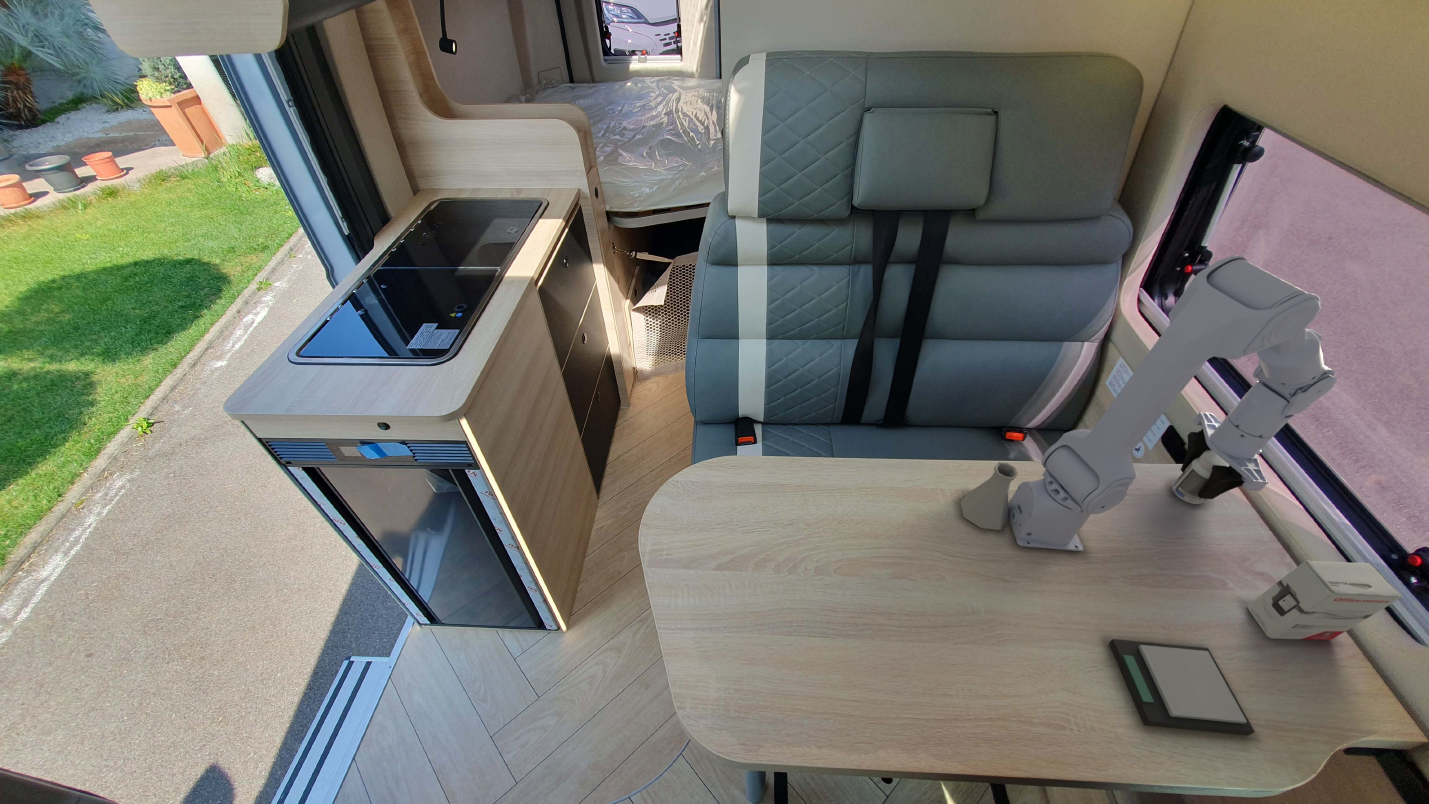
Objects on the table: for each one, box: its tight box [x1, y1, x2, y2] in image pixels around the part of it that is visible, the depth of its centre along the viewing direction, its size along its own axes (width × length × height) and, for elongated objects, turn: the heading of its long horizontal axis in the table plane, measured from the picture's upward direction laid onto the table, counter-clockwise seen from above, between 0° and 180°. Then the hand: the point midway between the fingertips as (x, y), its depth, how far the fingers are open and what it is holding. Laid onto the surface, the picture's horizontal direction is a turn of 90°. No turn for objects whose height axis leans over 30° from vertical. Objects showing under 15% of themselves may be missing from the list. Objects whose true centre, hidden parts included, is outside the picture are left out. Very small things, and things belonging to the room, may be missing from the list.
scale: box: [1108, 638, 1256, 736], centre depth 71 cm, size 12×10×2 cm
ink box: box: [1246, 560, 1403, 641], centre depth 74 cm, size 9×5×12 cm, turn 88°
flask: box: [960, 461, 1019, 531], centre depth 88 cm, size 7×7×10 cm
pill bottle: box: [1171, 450, 1229, 505], centre depth 92 cm, size 5×5×8 cm
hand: (1196, 484), depth 93 cm, fingers closed on pill bottle, 5 cm apart
